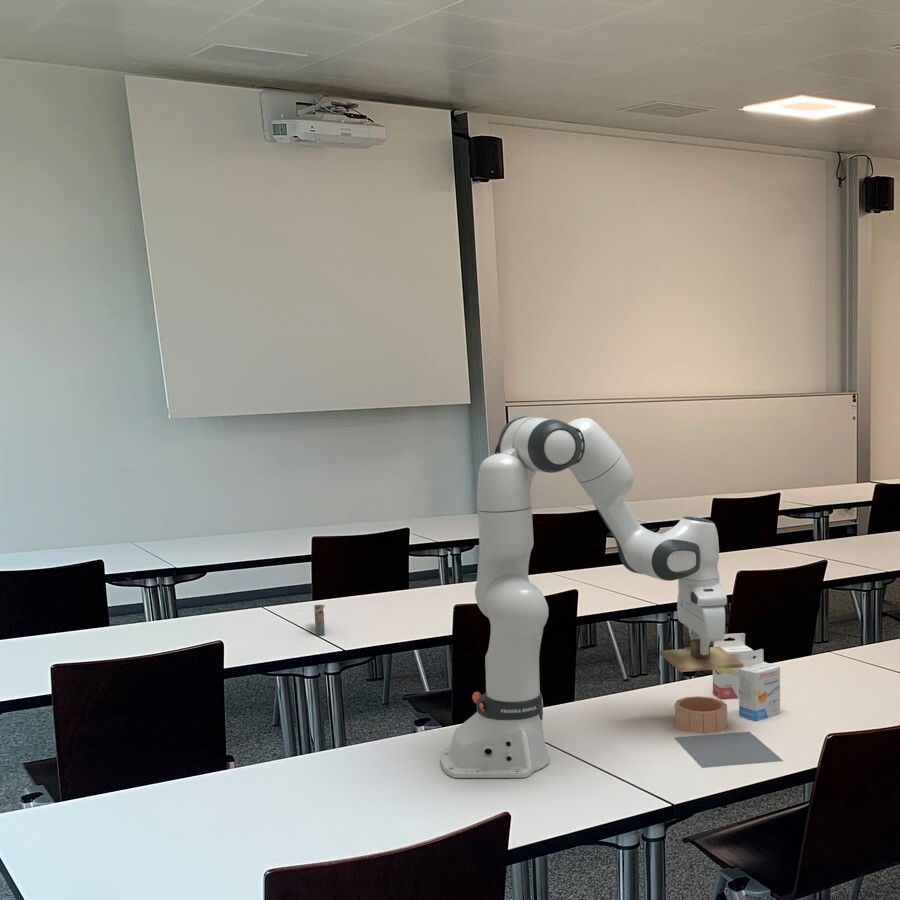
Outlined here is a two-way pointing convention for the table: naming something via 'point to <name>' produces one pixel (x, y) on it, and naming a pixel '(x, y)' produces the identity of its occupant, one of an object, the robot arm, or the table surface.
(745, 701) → the ink box
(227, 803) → the table surface
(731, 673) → the ink cartridge box
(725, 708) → the terracotta bowl
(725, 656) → the oak cover
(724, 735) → the rubber mat
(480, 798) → the table surface
